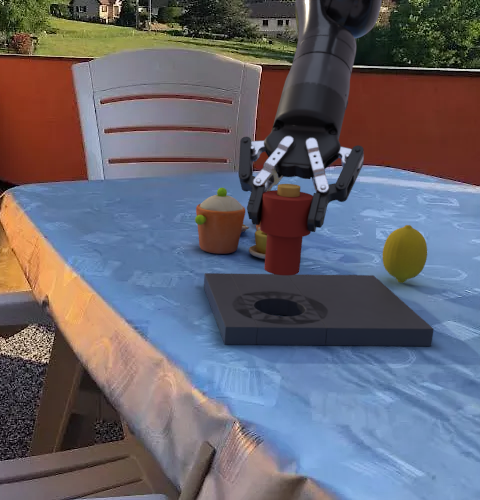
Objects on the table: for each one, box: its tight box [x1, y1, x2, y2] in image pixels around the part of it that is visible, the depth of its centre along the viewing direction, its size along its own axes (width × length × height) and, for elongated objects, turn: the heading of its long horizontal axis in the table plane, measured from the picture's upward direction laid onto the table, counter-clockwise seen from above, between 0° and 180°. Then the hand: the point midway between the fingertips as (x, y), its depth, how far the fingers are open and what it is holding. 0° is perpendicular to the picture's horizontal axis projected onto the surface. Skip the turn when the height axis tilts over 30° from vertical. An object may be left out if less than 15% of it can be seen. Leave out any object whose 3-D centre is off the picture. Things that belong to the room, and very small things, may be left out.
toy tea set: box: [194, 187, 272, 260], centre depth 113 cm, size 26×16×10 cm, turn 168°
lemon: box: [382, 224, 428, 284], centre depth 94 cm, size 6×6×8 cm
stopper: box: [260, 183, 313, 275], centre depth 77 cm, size 5×5×10 cm
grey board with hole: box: [203, 272, 434, 347], centre depth 83 cm, size 22×18×2 cm
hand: (282, 223), depth 75 cm, fingers closed on stopper, 5 cm apart
